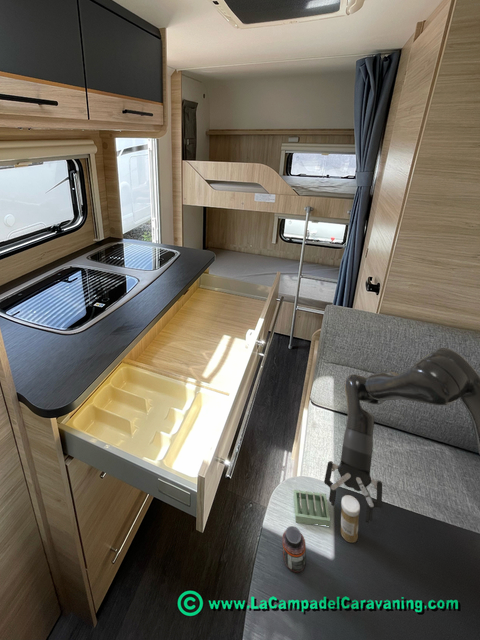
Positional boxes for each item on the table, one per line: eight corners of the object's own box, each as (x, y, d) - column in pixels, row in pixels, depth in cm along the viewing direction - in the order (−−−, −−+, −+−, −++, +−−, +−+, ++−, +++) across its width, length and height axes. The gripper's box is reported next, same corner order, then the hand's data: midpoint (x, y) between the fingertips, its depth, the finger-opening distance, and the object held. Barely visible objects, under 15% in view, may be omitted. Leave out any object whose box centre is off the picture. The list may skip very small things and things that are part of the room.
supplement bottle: (282, 545, 92) (281, 519, 88) (304, 548, 90) (304, 522, 86) (283, 571, 86) (282, 545, 82) (307, 575, 85) (306, 549, 81)
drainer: (325, 500, 101) (325, 493, 100) (330, 527, 94) (330, 520, 93) (293, 495, 103) (293, 489, 102) (295, 522, 97) (295, 515, 96)
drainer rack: (320, 502, 100) (321, 492, 99) (323, 521, 95) (323, 511, 94) (299, 499, 102) (299, 490, 100) (300, 517, 97) (300, 508, 96)
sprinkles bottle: (361, 537, 91) (364, 506, 86) (350, 547, 89) (352, 515, 85) (347, 521, 95) (349, 491, 90) (336, 530, 93) (337, 499, 89)
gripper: (329, 439, 93) (319, 503, 88) (386, 460, 86) (379, 531, 81) (332, 438, 99) (323, 498, 94) (385, 457, 92) (379, 523, 87)
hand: (349, 513), depth 88 cm, fingers open, 8 cm apart
